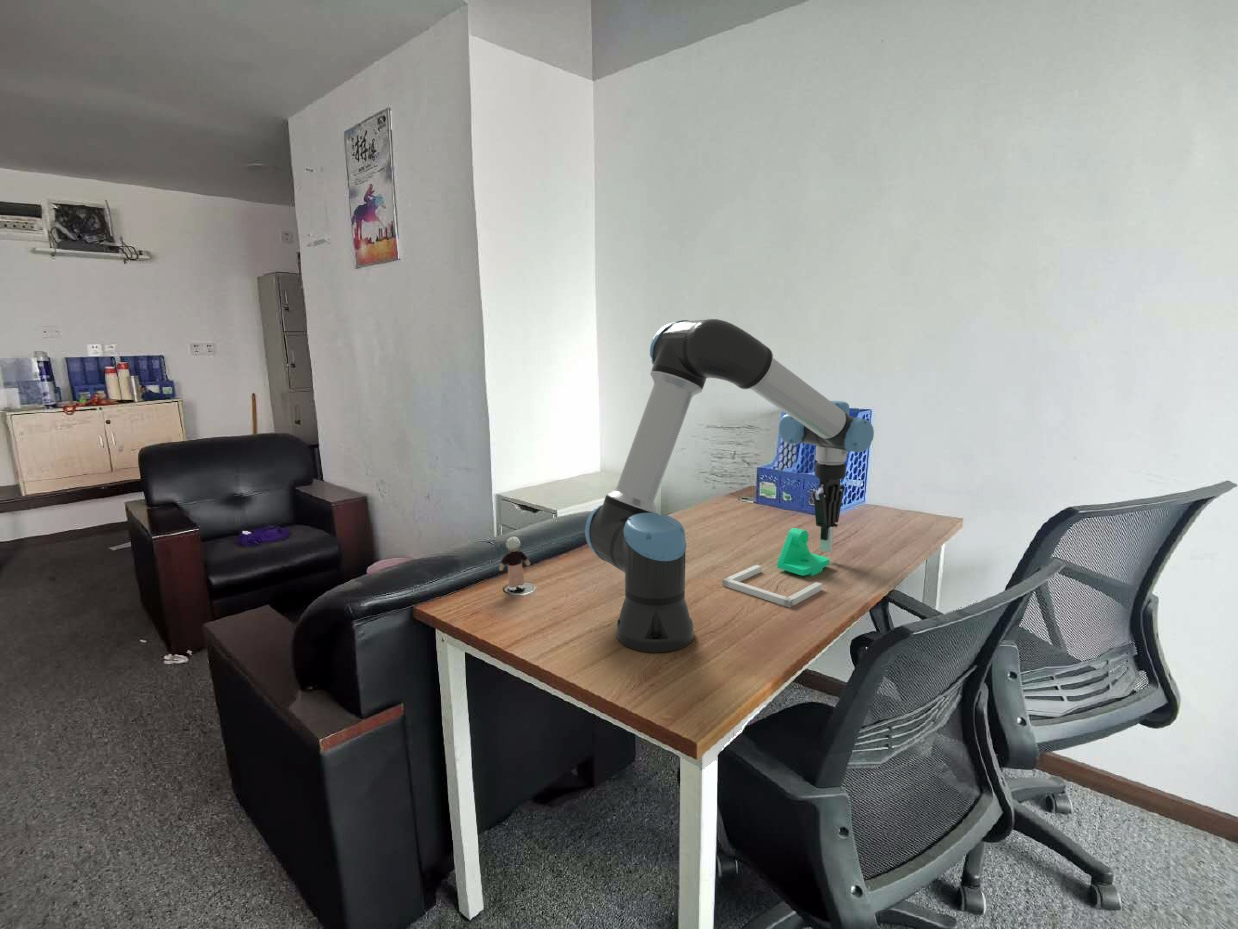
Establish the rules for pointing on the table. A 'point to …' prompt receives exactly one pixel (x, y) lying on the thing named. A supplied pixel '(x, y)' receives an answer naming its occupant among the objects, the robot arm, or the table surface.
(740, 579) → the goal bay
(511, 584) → the grandmother figurine
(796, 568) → the camera mount
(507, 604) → the table surface
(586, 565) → the table surface
